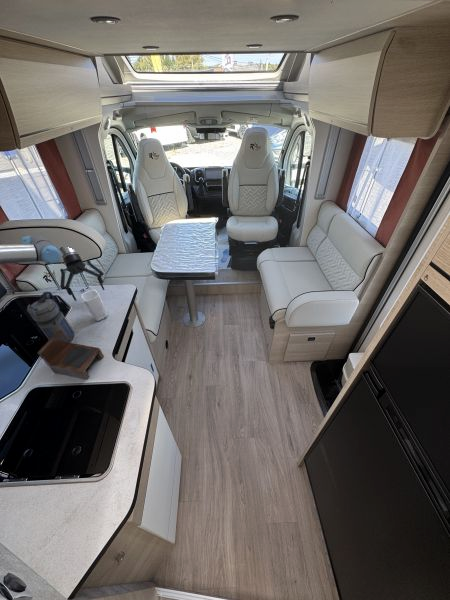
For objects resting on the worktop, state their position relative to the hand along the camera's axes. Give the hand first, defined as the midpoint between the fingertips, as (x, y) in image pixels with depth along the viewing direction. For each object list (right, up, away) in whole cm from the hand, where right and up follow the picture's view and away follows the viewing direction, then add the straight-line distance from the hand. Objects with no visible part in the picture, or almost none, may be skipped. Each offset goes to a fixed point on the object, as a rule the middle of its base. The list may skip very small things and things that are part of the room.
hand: (89, 294), depth 126 cm
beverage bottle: (-9, -21, -5) cm, 23 cm away
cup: (+3, -11, +5) cm, 13 cm away
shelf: (+5, -31, -17) cm, 35 cm away
